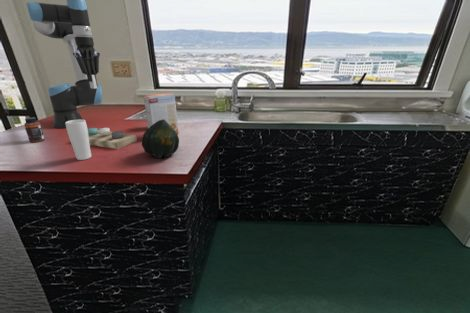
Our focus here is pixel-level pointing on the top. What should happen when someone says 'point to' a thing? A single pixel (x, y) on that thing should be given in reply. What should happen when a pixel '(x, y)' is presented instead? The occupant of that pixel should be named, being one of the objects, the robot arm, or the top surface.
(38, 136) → the supplement bottle
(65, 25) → the robot arm
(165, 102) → the cracker box
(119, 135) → the grey button
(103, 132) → the white button
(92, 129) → the teal button
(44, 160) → the top surface
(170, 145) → the squash
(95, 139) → the button panel
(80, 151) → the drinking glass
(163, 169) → the top surface
